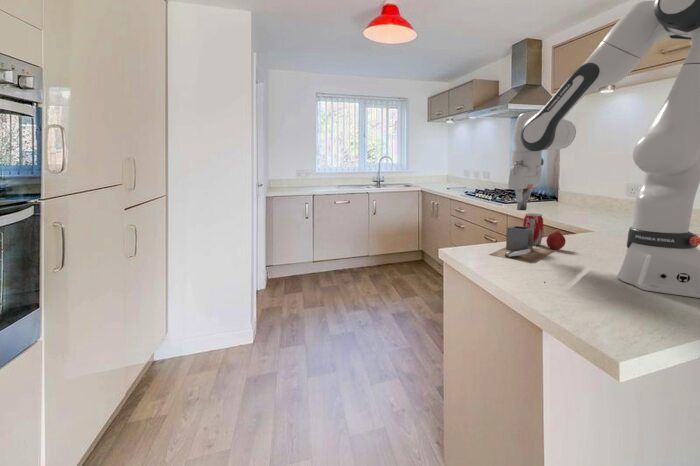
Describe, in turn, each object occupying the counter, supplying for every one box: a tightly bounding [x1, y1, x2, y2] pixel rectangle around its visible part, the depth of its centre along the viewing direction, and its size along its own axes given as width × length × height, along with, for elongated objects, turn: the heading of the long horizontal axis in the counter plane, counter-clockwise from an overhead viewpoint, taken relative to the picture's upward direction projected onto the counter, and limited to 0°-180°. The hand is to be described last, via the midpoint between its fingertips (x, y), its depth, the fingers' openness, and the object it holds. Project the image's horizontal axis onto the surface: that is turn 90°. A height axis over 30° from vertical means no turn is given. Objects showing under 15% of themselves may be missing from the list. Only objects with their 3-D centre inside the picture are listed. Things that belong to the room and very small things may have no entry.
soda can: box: [522, 212, 544, 246], centre depth 135 cm, size 7×7×12 cm
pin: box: [516, 184, 534, 211], centre depth 121 cm, size 6×6×9 cm
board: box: [488, 246, 555, 264], centre depth 119 cm, size 15×20×1 cm
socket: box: [505, 225, 534, 251], centre depth 123 cm, size 7×6×8 cm
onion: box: [546, 229, 566, 251], centre depth 124 cm, size 6×6×8 cm
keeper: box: [505, 249, 531, 257], centre depth 114 cm, size 7×5×1 cm
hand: (522, 201), depth 121 cm, fingers closed on pin, 5 cm apart
